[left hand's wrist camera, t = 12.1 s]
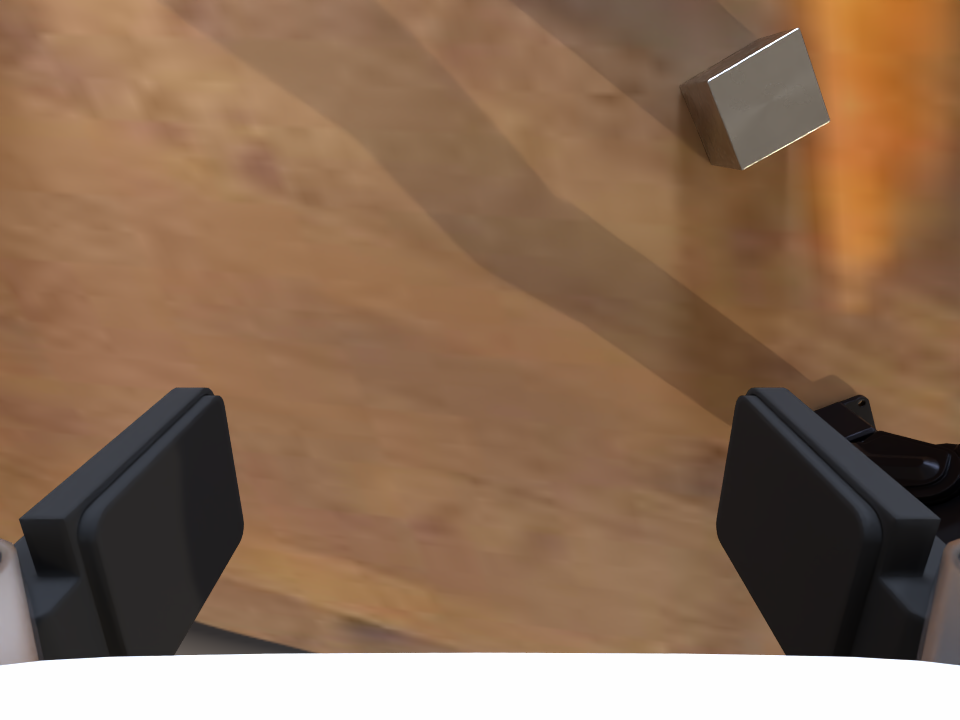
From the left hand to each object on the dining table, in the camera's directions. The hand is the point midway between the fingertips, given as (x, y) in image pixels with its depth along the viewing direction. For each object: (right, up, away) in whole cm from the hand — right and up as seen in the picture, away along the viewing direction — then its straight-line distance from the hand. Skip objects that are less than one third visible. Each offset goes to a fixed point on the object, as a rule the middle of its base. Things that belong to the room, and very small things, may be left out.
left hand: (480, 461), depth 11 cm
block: (+15, +17, +25) cm, 34 cm away
